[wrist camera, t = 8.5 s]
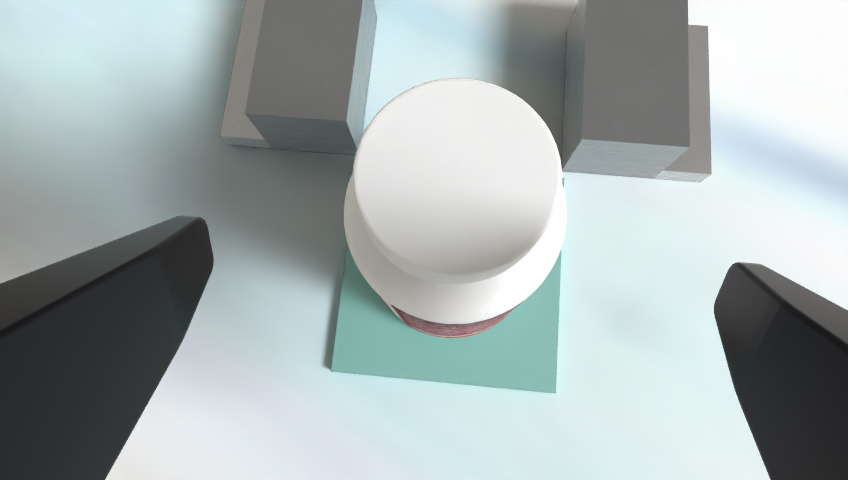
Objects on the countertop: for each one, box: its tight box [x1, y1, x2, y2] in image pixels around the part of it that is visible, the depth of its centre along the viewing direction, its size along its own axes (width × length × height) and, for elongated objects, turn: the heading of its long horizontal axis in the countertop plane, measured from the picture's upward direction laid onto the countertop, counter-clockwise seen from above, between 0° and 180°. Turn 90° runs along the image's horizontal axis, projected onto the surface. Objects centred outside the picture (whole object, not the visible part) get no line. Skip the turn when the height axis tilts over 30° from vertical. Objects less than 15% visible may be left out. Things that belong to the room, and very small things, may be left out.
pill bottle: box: [344, 78, 567, 338], centre depth 17 cm, size 6×6×11 cm
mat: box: [331, 178, 564, 393], centre depth 23 cm, size 9×9×1 cm
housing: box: [220, 0, 711, 182], centre depth 23 cm, size 7×21×4 cm, turn 85°
